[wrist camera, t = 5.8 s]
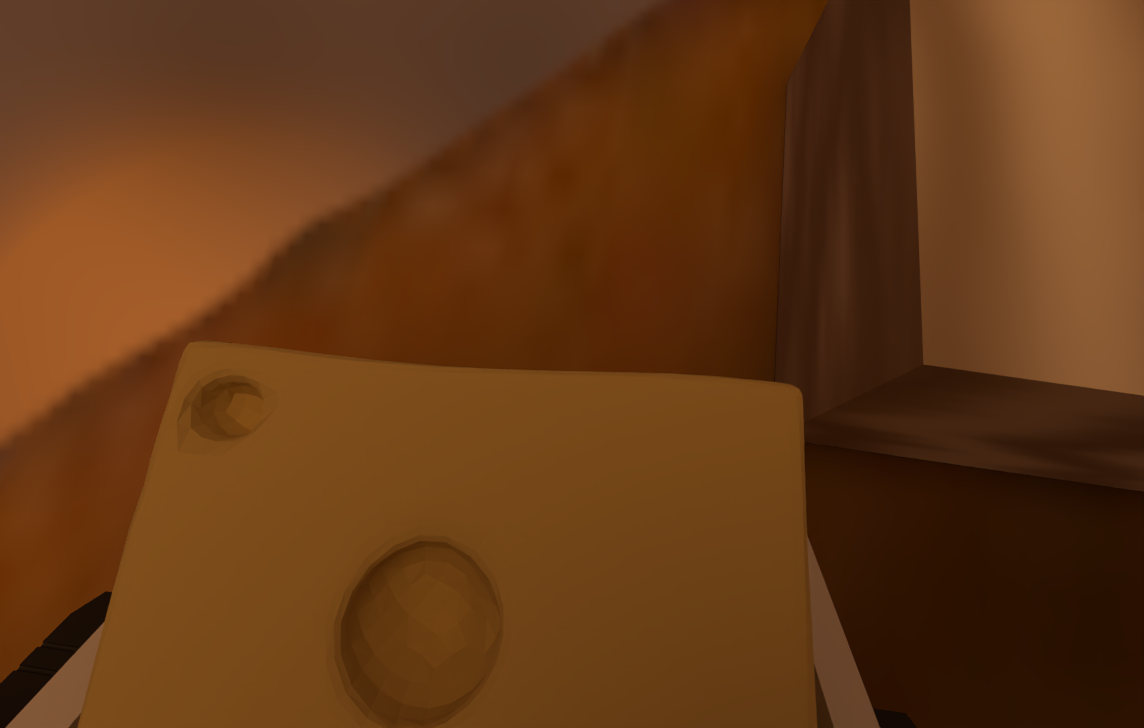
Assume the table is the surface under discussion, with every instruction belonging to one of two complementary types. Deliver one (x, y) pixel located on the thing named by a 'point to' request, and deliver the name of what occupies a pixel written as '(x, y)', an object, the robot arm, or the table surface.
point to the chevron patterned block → (969, 234)
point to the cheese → (461, 551)
